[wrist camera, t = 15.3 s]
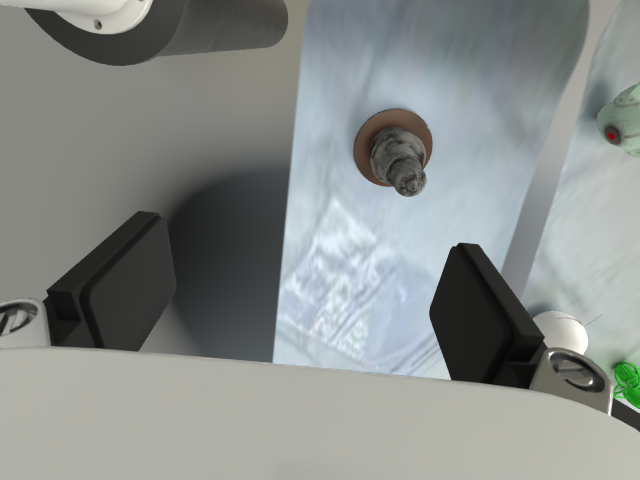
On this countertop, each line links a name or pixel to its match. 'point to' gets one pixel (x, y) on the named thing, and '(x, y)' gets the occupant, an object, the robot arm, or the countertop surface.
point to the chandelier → (628, 383)
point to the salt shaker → (399, 160)
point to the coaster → (377, 125)
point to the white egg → (562, 331)
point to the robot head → (622, 121)
